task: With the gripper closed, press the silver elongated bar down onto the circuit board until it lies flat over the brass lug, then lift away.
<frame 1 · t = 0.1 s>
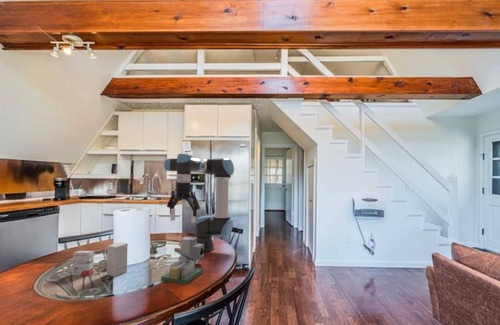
hand: (182, 221, 155), 28 cm above the table, fingers open, 13 cm apart
circuit breaker: (192, 264, 171), on the table
silver elongated bar: (184, 254, 151), point 11 cm above the table, hinge at 30.0°
skincare box: (117, 273, 153), on the table
circuit board: (183, 276, 150), on the table
ink box: (82, 274, 152), on the table
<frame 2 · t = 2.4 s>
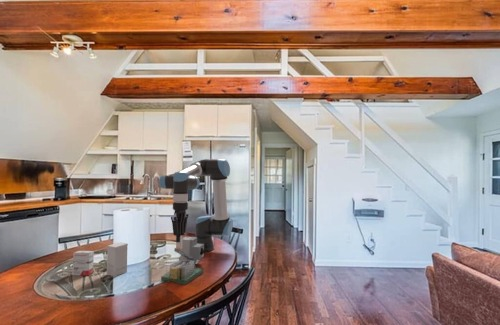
hand: (179, 248, 147), 16 cm above the table, fingers closed
silver elongated bar: (184, 254, 151), point 11 cm above the table, hinge at 30.0°, touching gripper
everything else where it was.
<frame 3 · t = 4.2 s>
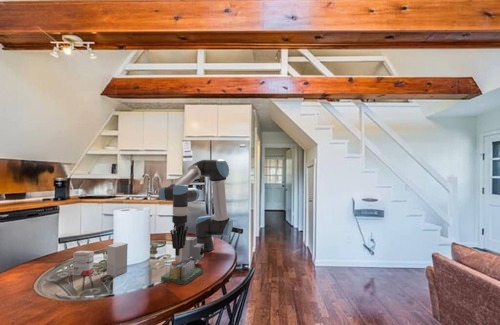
hand: (178, 261, 146), 9 cm above the table, fingers closed
silver elongated bar: (183, 260, 150), point 8 cm above the table, hinge at 4.9°, touching gripper
everything else where it was.
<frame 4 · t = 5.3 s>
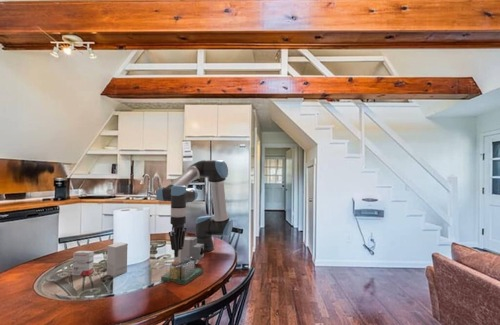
hand: (177, 262, 145), 9 cm above the table, fingers closed
silver elongated bar: (183, 261, 150), point 8 cm above the table, hinge at 3.4°, touching gripper
everything else where it was.
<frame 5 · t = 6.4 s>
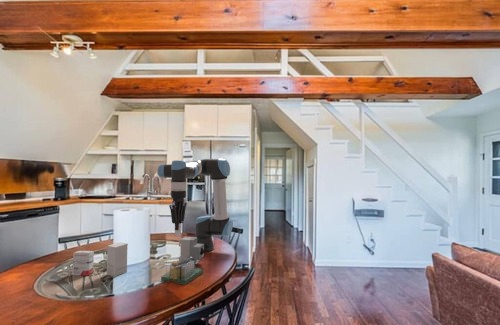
hand: (177, 236, 148), 22 cm above the table, fingers closed
silver elongated bar: (183, 261, 150), point 8 cm above the table, hinge at 3.4°
everything else where it was.
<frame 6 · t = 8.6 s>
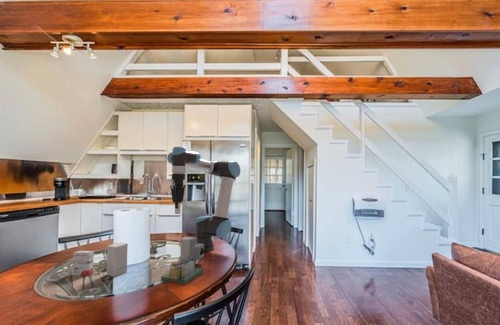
hand: (177, 213, 167), 30 cm above the table, fingers closed
nothing on the table moved.
at the end: silver elongated bar at +3° (first picture: +30°); silver elongated bar point 8.1 cm above the table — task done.
